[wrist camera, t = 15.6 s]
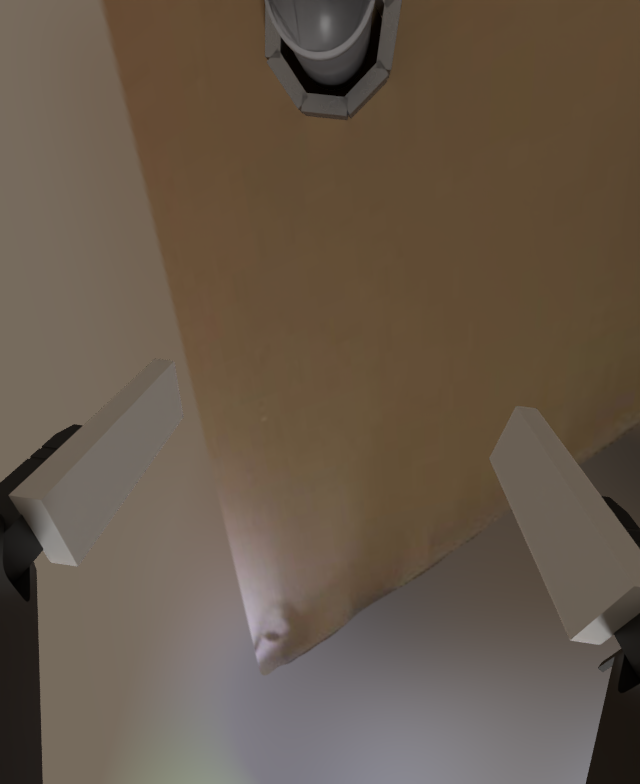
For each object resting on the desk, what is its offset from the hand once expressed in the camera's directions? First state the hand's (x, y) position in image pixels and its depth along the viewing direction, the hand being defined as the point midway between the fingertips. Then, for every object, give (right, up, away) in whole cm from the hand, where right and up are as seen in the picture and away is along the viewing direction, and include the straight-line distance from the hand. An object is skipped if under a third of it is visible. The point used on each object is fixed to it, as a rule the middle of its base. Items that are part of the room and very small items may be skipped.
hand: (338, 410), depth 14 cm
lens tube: (0, +30, +15) cm, 33 cm away
